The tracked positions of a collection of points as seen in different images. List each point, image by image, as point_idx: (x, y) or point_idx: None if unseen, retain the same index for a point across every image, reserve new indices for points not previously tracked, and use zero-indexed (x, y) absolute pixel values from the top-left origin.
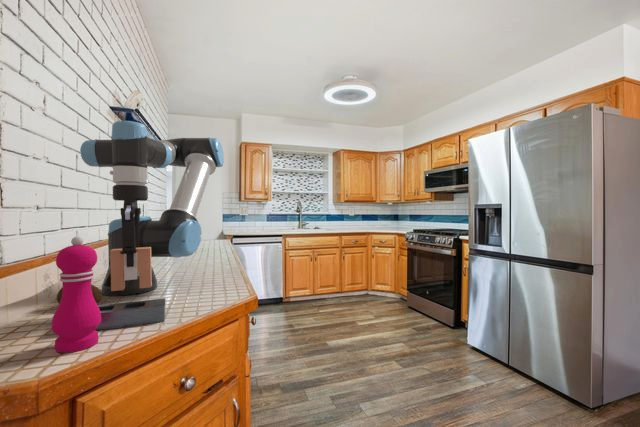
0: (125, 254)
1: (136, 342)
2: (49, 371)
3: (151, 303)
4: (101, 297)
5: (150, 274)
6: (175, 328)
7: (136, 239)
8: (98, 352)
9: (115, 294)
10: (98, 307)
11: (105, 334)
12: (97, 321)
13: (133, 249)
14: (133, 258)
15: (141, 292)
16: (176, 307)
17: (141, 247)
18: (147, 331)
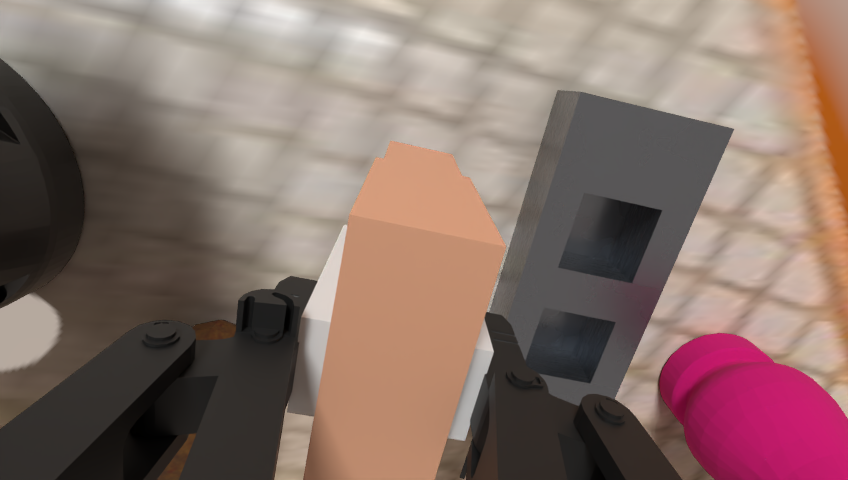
0: (468, 426)
1: (831, 242)
2: None
3: (636, 173)
4: (222, 326)
5: (460, 173)
6: (812, 101)
7: (276, 437)
8: (816, 333)
9: (69, 253)
10: (813, 405)
11: (667, 312)
12: (812, 379)
13: (630, 424)
14: (507, 350)
15: (59, 130)
16: (499, 19)
17: (336, 318)
18: (753, 197)
